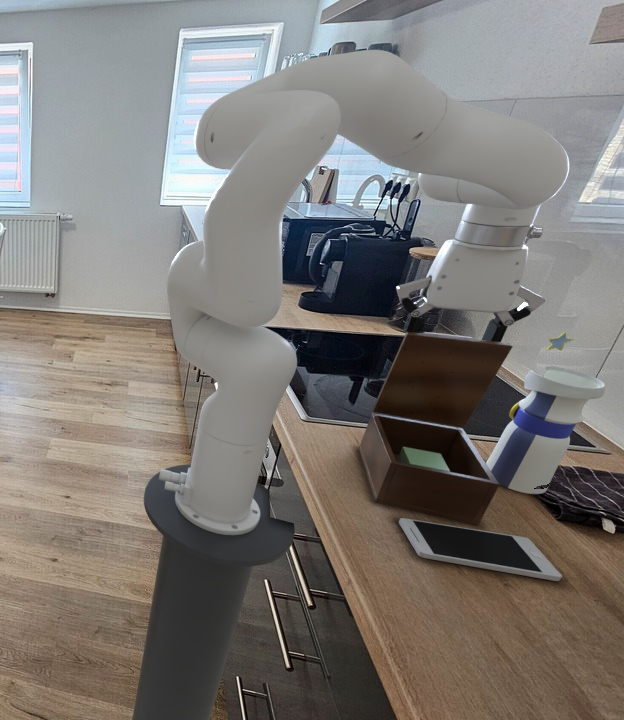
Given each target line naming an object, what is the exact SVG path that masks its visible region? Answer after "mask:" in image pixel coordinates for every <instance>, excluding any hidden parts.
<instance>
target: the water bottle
mask: <svg viewBox="0 0 624 720" xmlns="http://www.w3.org/2000/svg"><path fill="white" fill-rule="evenodd" d="M548 341H549V342H550V343H551V344H550V345H549V346H548V347H547V348H546V351H550V350H554V349H556V350H558V351H560V352H561V351H563V349H564V346H565V344H567V343H570V342H572V341H574V338H570V337H567V332H566V331H564V332H563V333H561V334H560V335H559V336H558V337H551V338H548ZM523 383H524V385H523V388H524V389H525V390H529V391H531V392H529V394H528V395H527V396H526V397H524V398H522V399H521V400H519V401H518V402H516V403H515V404H514V405H513V406H512V407H511V409H510V410H509V413H508V416H509V418H510V419H511V421H510V422H509V423H508V424H507V425H506V427H505V428H504V430H503V432H502V434H501V435H500V437H499V440H498V442H497V443H496V445H495V447H494V448H493V450H492V452H491V453H490V455H489V457H488V459H487V461H486V462H485V463H486V464H487V466H488V467H489V469H490V471H491V472H492V474H493V475H494V477H495V478H496V480H497V481H498V483H499V484H500V485H499V486H502V487H504V488H507V489H510V490H513V491H516V492H520V493H524V494H530V495H540V494H544V493H546V492H547V490H548V489H549V486H548V487H547V488H544V489H534V488H536V487H537V486H541V485H547V484H549V483H550V484H551V481H552V480H553V477H554V475H555V474H556V472H557V469H558V467H559V465H560V463H561V461H562V460H563V458H564V456H565V454H566V453H567V451H568V448H569V446H570V444H571V437H570V436H571V435H572V432H573V431H574V429H575V427H576V426H577V424H580V423H583V421H584V419H585V417H584V415H583V409H584V406H585V405H586V404H587V403H588V401H589V400H596V399H597V400H598V399H601V398H602V397H603V396H604V395H605V388H606V384H605V383H604V381H602V380H600V379H599V378H597V377H595V376H592V375H589V374H587V373H584V372H581V371H578V370H574V369H570V368H565V367H559V366H553V365H551V366H546V367H545V371H544V373H543V375H539V374H537V373H536V372H535V371H534V370H533V369H530V370H529V371H528V373H526V376H525V378H524V380H523ZM550 484H549V485H550Z"/></svg>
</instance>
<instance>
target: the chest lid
mask: <svg viewBox="0 0 624 720" xmlns="http://www.w3.org/2000/svg"><path fill="white" fill-rule="evenodd" d="M404 334H405V335H404V337H403V339H402V341H401V343H400V346H399V348H398V350H397V353H396V355H395V357H394V359H393V362H392V364H391V366H390V369H389V371H388V373H387V375H386V378H385V379H384V382H383V384H382V387H381V388H380V391H379V393H378V396H377V398H376V400H375V402H374V405H373V407H372V413H375V414H381V415H387V416H393V417H399V418H405V419H410V420H416V421H422V422H428V423H434V424H440V425H446V426H452V427H458V428H465V427H467V424H468V423H469V421H470V419H471V418H472V416H473V414H474V413H475V411H476V409H477V407H478V406H479V404H480V402H481V401H482V399H483V398H484V396H485V394H486V392H487V390H488V389H489V387H490V385H491V384H492V382H493V381H494V379H495V378H496V376H497V374H498V372H499V371H500V369H501V367H502V365H503V364H504V362H505V360H506V359H507V357H508V356H509V354H510V352H511V351H512V349H513V348H514V345H513V344H512V342H511V343H509V342H504V341H503V342H502V341H501V342H494V341H485V340H482V339H474V338H473V337H471V336H465V335H464V336H463V335H455V334H448V333H447V334H446V333H436V332H430V331H429V332H427V331H423V332H419V333H414V332H406V333H404Z"/></svg>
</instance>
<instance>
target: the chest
mask: <svg viewBox="0 0 624 720" xmlns="http://www.w3.org/2000/svg"><path fill="white" fill-rule="evenodd" d="M402 447H408V448H413V449H418V450H424V451H429V452H434V453H439V454H441V455H442V457H443V459H444V461H445V463H446V465H447V466H448V468H449V470H450V472H448V471H443V470H438V469H433V468H428V467H423V466H418V465H413V464H408V463H403V462H398V461H397V460H398V457H399V455H400V452H401V450H402ZM358 451H359V453H360V457H361V461H362V463H363V466H364V469H365V474H366V476H367V480H368V483H369V486H370V489H371V492H372V495H373V499H374V502H375V503H379V504H383V505H386V506H387V505H388V506H392V507H396V508H400V509H404V510H409V511H413V512H418V513H421V514H426V515H430V516H435V517H439V518H442V519H448V520H452V521H457V522H460V523H465V524H470V525H474V526H479V524H480V523H481V521H482V519H483V517H484V515H485V514H486V511H487V509H488V507H489V506H490V504H491V502H492V500H493V498H494V496H495V495H496V493H497V491H498V489H499V487H500V486H501V485H500V484H499V483H498V481H497V480H496V478H495V477H494V475H493V474H492V472H491V471H490V469H489V467H488V466H487V464H486V462H485V460H484V458H483V457H482V455H481V454H480V452H479V450H478V449H477V448H476V446H475V445H474V443H473V442H472V440H471V439H470V437H469V436H468V434H467V433H466V431H465V430H464V428H463V427H457V426H452V425H446V424H440V423H434V422H428V421H422V420H416V419H411V418H405V417H399V416H393V415H387V414H381V413H375V412H371V414H370V416H369V420H368V422H367V426H366V428H365V431H364V433H363V436H362V439H361V442H360V445H359V447H358Z"/></svg>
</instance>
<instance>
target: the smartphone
mask: <svg viewBox="0 0 624 720" xmlns="http://www.w3.org/2000/svg"><path fill="white" fill-rule="evenodd" d="M398 524H399V526H400V527H401V529H402V531H403V533H404V534H405V536H406V537H407V539H408V541H409V542H410V544H411V546H412V547H413V549H414V551H415V553H416V554H417V556H418V557H419V558H423V559H428V560H433V561H440V562H445V563H450V564H451V563H452V564H456V565H462V566H468V567H474V568H479V569H485V570H490V571H496V572H503V573H507V574H514V575H520V576H525V577H530V578H537V579H542V580H547V581H553V582H559V581H561V579H562V578H563V575H562V574H561V572H559V571H558V570H557V568H556V567H555V566H554V565H553V564H552V563H551V562H550V560H549V559H548V558H547V557H546V556H545V555H544V554H543V552H541V550H540V549H539V548H538V547H537V546H536V545H535V543H533V541H532V540H531V539H530V538H528V537H525V536H519V535H513V534H508V533H507V534H506V533H500V532H494V531H487V530H482V529H475V528H470V527H469V528H468V527H462V526H455V525H449V524H444V523H437V522H431V521H425V520H419V519H413V518H412V519H411V518H405V517H400V518H399V521H398Z"/></svg>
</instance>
